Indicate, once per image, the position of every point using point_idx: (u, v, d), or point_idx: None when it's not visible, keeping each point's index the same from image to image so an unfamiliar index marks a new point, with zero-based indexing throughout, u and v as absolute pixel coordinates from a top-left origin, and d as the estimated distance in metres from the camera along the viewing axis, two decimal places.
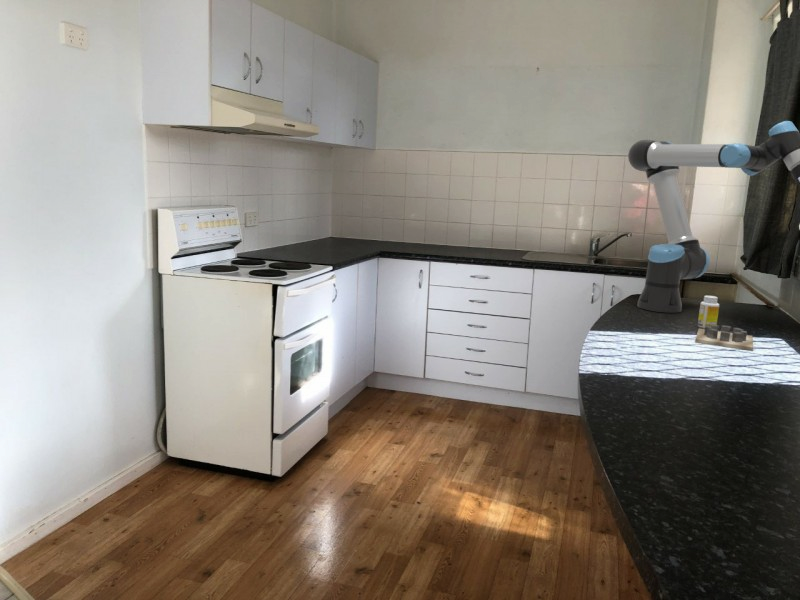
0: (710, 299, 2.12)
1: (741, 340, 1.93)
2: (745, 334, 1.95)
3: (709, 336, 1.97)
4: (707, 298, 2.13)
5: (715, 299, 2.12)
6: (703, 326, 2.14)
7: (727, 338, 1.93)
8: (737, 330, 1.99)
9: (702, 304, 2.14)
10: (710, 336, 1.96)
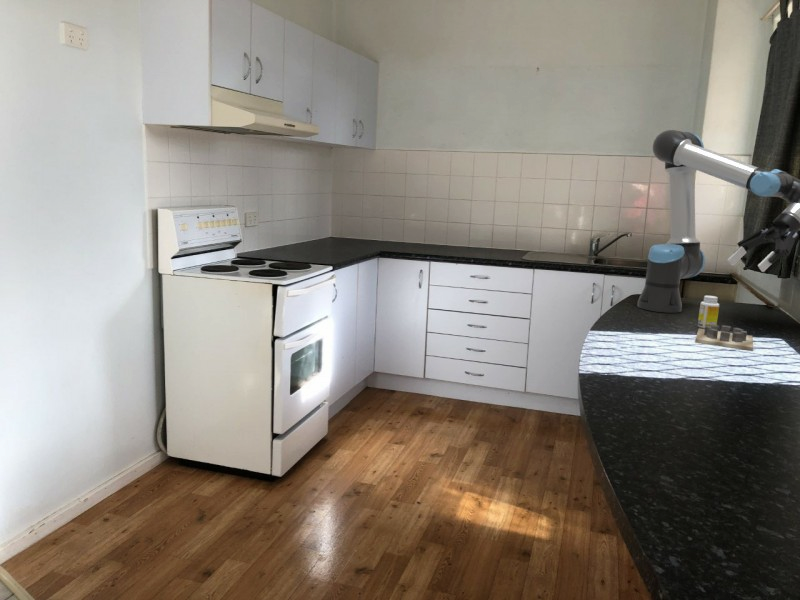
0: (710, 299, 2.12)
1: (741, 340, 1.93)
2: (745, 334, 1.95)
3: (709, 336, 1.97)
4: (707, 298, 2.13)
5: (715, 299, 2.12)
6: (703, 326, 2.14)
7: (727, 338, 1.93)
8: (737, 330, 1.99)
9: (702, 304, 2.14)
10: (710, 336, 1.96)
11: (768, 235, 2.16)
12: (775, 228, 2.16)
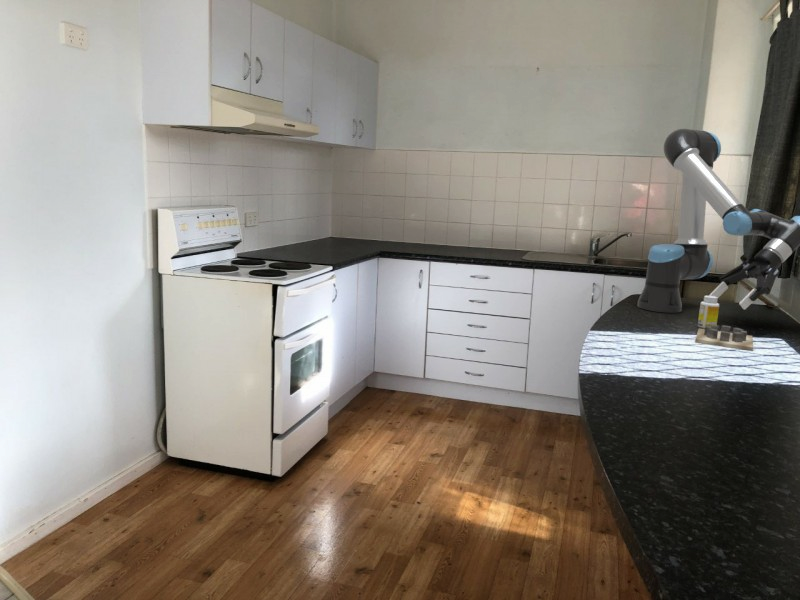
0: (710, 299, 2.12)
1: (741, 340, 1.93)
2: (745, 334, 1.95)
3: (709, 336, 1.97)
4: (707, 298, 2.13)
5: (715, 299, 2.12)
6: (703, 326, 2.14)
7: (727, 338, 1.93)
8: (737, 330, 1.99)
9: (702, 304, 2.14)
10: (710, 336, 1.96)
11: (749, 271, 2.15)
12: (756, 264, 2.15)
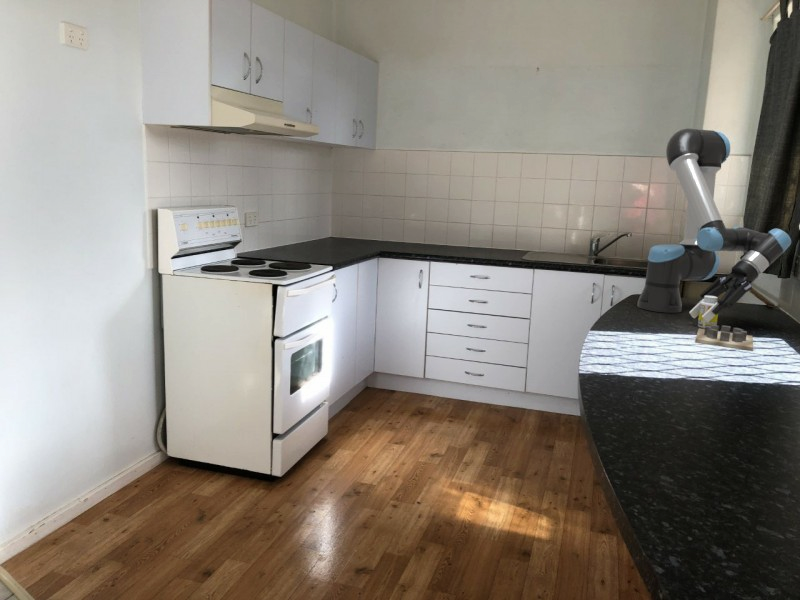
0: (710, 299, 2.12)
1: (741, 340, 1.93)
2: (745, 334, 1.95)
3: (709, 336, 1.97)
4: (707, 298, 2.13)
5: (715, 299, 2.12)
6: (703, 326, 2.14)
7: (727, 338, 1.93)
8: (737, 330, 1.99)
9: (702, 304, 2.14)
10: (710, 336, 1.96)
11: (726, 282, 2.16)
12: (734, 274, 2.16)
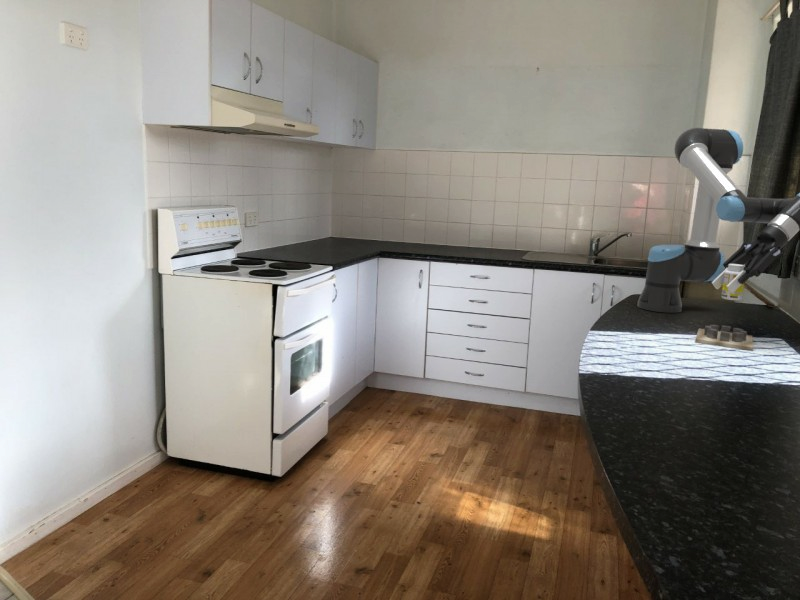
0: (735, 267, 1.93)
1: (741, 340, 1.93)
2: (745, 334, 1.95)
3: (709, 336, 1.97)
4: (732, 266, 1.94)
5: (741, 267, 1.93)
6: (728, 297, 1.95)
7: (727, 338, 1.93)
8: (737, 330, 1.99)
9: (726, 273, 1.95)
10: (710, 336, 1.96)
11: (752, 249, 1.97)
12: (760, 240, 1.97)
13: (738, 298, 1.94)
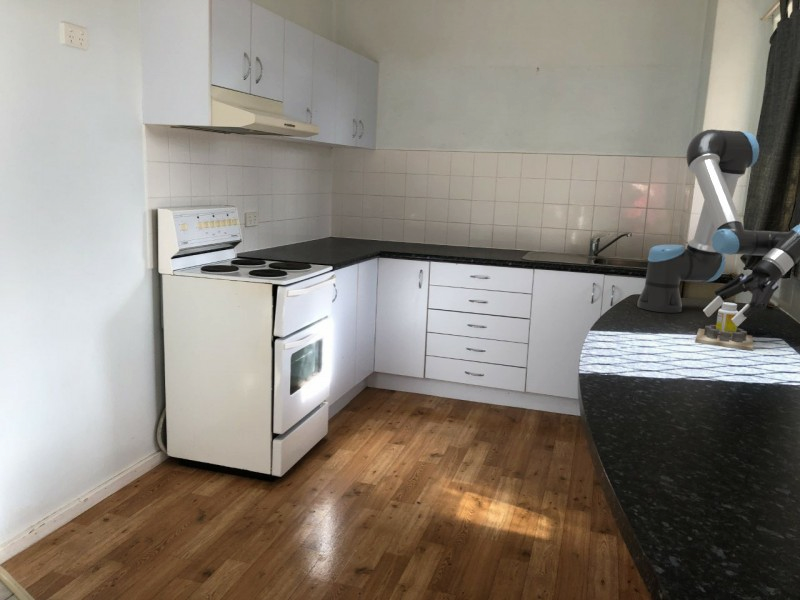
0: (729, 306, 1.95)
1: (741, 340, 1.93)
2: (745, 334, 1.95)
3: (709, 336, 1.97)
4: (725, 305, 1.96)
5: (734, 306, 1.95)
6: None
7: (727, 338, 1.93)
8: (737, 330, 1.99)
9: (720, 312, 1.96)
10: (710, 336, 1.96)
11: (747, 283, 1.98)
12: (755, 275, 1.98)
13: (731, 337, 1.96)
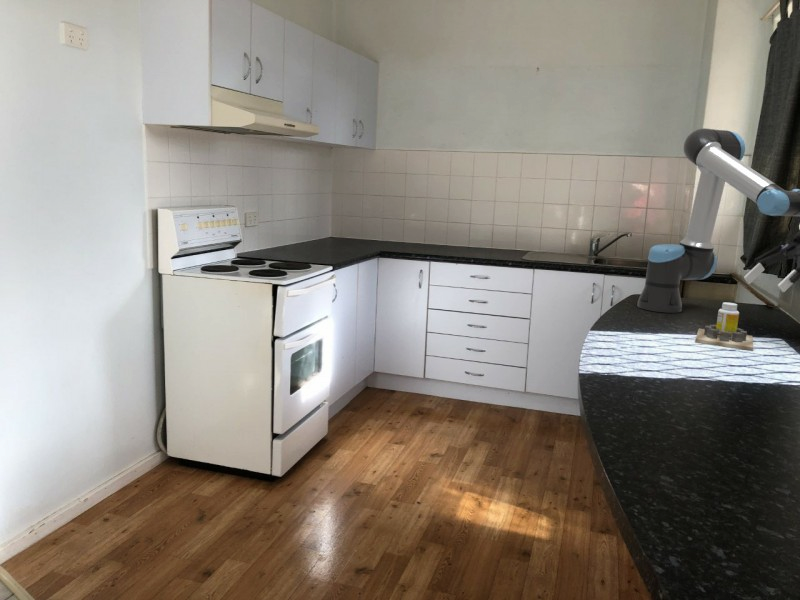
0: (729, 306, 1.95)
1: (741, 340, 1.93)
2: (745, 334, 1.95)
3: (709, 336, 1.97)
4: (726, 305, 1.96)
5: (735, 306, 1.95)
6: None
7: (727, 338, 1.93)
8: (737, 330, 1.99)
9: (720, 312, 1.96)
10: (710, 336, 1.96)
11: (789, 251, 1.99)
12: (796, 244, 1.99)
13: (731, 337, 1.96)
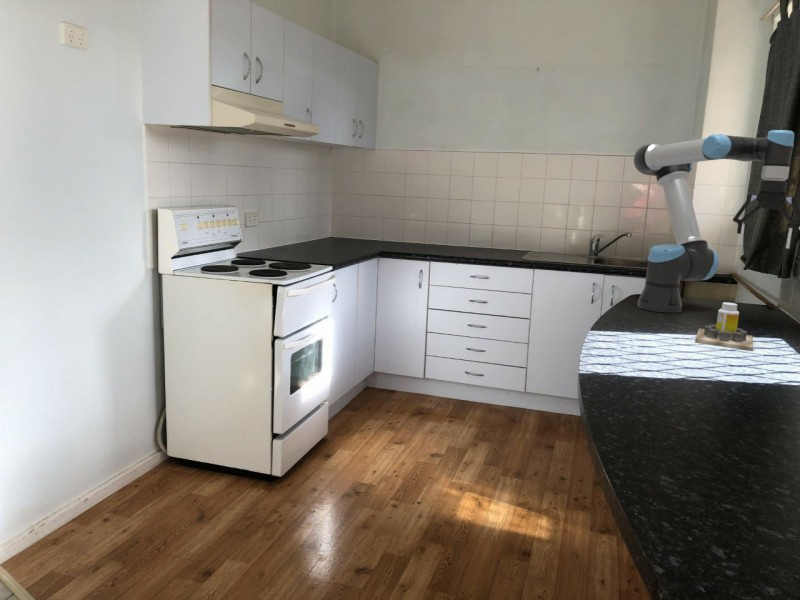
0: (729, 306, 1.95)
1: (741, 340, 1.93)
2: (745, 334, 1.95)
3: (709, 336, 1.97)
4: (726, 305, 1.96)
5: (734, 306, 1.95)
6: None
7: (727, 338, 1.93)
8: (737, 330, 1.99)
9: (720, 312, 1.96)
10: (710, 336, 1.96)
11: (765, 206, 2.15)
12: (767, 195, 2.14)
13: (731, 337, 1.96)
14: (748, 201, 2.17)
